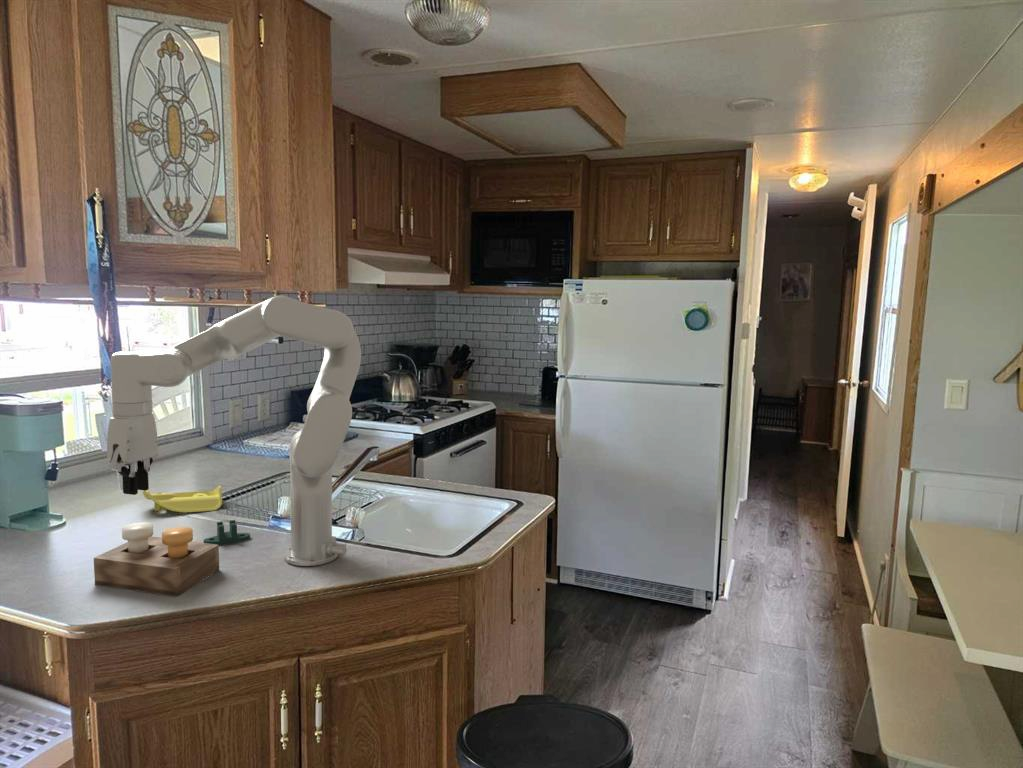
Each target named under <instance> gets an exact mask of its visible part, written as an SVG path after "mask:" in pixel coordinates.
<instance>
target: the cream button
mask: <svg viewBox="0 0 1023 768" xmlns="http://www.w3.org/2000/svg"><path fill="white" fill-rule="evenodd" d="M151 536H152V537H153V536H154V524H153V523H151V522H149V521H147V522H145V521H143V522H142V521H141V522H140V521H139V522H133V523H129V524H126V525H124V526H122V528H121V538H122V540H125V541H127V542H128V553H135V554H141V553H143V552H145V551H147V550H149V542H148V538H149V537H151Z"/></svg>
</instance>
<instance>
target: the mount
mask: <svg viewBox="0 0 1023 768" xmlns="http://www.w3.org/2000/svg"><path fill="white" fill-rule="evenodd" d="M216 530H217V531H216V532H217V533H216V534H217V535H213V536H210V537H206V538H204V539H203V543H209V544H217V545H219V546H223V545H222V544H225V545H230V544H231V543H233V544H238V542H239V543H242V542H245V540H246V541H249V540H251V534H250V533H249V532H238V525H237V522H236V520H235V519H234V520H233V519H232V520H229V531H225V525H224V522H223V521H217V522H216Z"/></svg>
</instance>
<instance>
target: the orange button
mask: <svg viewBox="0 0 1023 768" xmlns="http://www.w3.org/2000/svg"><path fill="white" fill-rule="evenodd" d="M193 533H194V531H193V528H192V527H189V526H177V527H170V528H167V529H165V530H163V531H162V532H161V538H162V543H163V544H164V545H168V558H174V559H182V558H184V557H185V556H187V555H188V543H189V542H191V541H192V542H193V539H194V534H193Z"/></svg>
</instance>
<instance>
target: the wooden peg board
mask: <svg viewBox="0 0 1023 768" xmlns="http://www.w3.org/2000/svg"><path fill="white" fill-rule="evenodd" d="M148 542H149V550H147V551H145V552H143V553H141V554H135V553H128V541H127V542H126V543H122V544H121V545H118V546H116V547H114V548H112V549H110V550H108V551H106V552H104V553H103V552H102V553H101V554H99V555H97V556H95V557H93V570H94V571H93V573H94V574H93V575H94V576H93V577H94V585H95V586H102V587H108V588H115V589H124V590H131V591H136V592H144V593H151V594H157V595H165V596H171V597H178V596H180V595H181V594H183V593H185V592H186V591H188V590H190V589H191V588H193V587H194V586H196V585H198V584H199V583H200V581H201V582H202V581H204V580H205V579H207V578H208V576H209V577H210V576H211V574H212V575H213V574H215V573H217V572H218V571H219V570H220V552H219V551H220V548H219V546H220V545H217V544H209V543H204V542H200V541H193V540H192V541H191V542H189V543H188V555H187V556H185V557H184V558H182V559H174V558H168V545H164V544H163V543H162V537H160V536H158V537H157V536H153V535H152V536H151V537H149V538H148ZM216 571H217V572H216ZM206 577H207V578H206ZM203 579H204V580H203ZM198 582H199V583H198ZM197 583H198V584H197ZM195 584H196V585H195ZM192 586H193V587H192ZM189 588H190V589H189Z"/></svg>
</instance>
